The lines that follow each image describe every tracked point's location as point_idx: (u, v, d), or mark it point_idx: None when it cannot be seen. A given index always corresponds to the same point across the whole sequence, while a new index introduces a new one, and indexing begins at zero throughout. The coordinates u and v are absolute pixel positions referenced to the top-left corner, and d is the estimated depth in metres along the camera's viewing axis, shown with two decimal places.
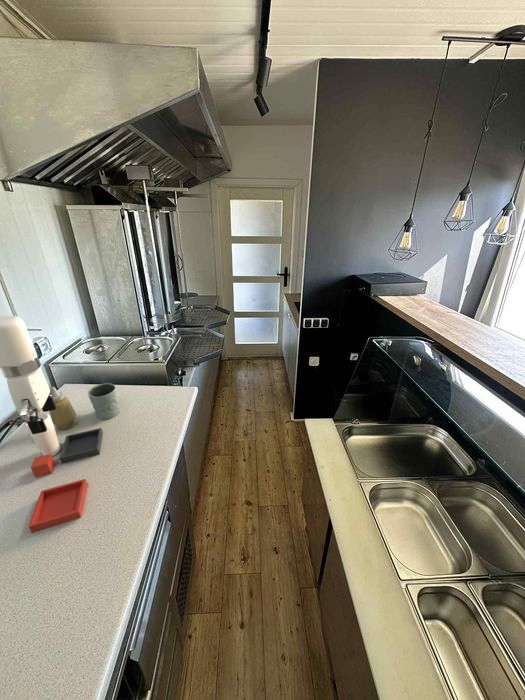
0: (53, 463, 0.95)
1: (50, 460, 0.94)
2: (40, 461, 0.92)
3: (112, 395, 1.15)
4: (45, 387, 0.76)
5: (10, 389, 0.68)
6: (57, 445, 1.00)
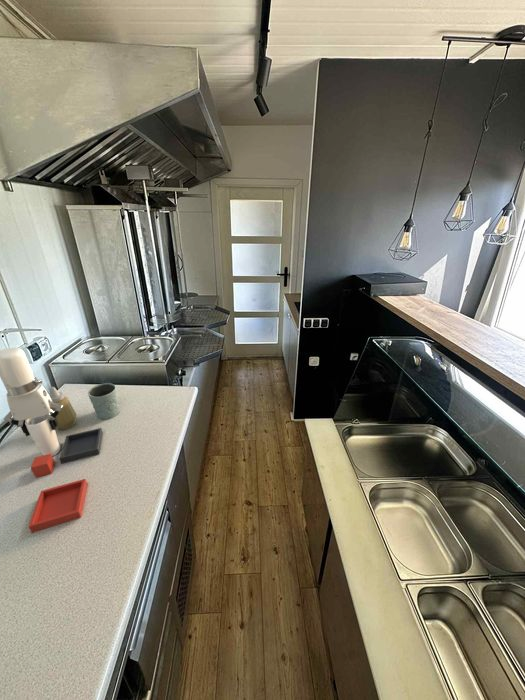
0: (53, 463, 0.95)
1: (50, 460, 0.94)
2: (40, 461, 0.92)
3: (112, 395, 1.15)
4: (35, 409, 0.91)
5: None
6: (57, 445, 1.00)
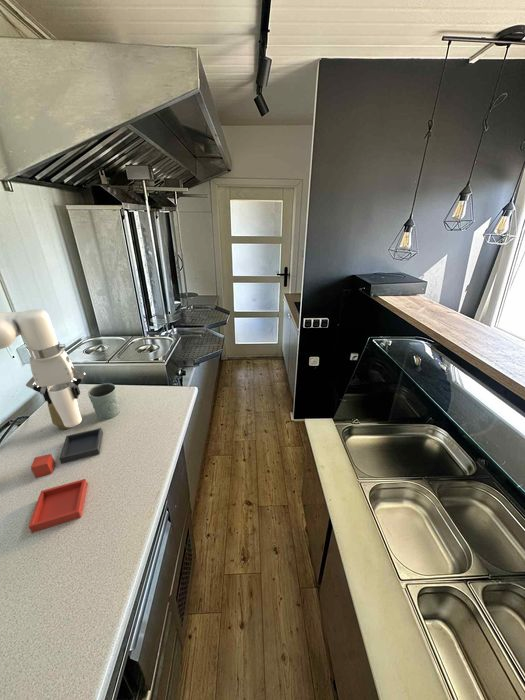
0: (53, 463, 0.95)
1: (50, 460, 0.94)
2: (40, 461, 0.92)
3: (112, 395, 1.15)
4: (58, 375, 0.88)
5: None
6: (79, 415, 0.97)
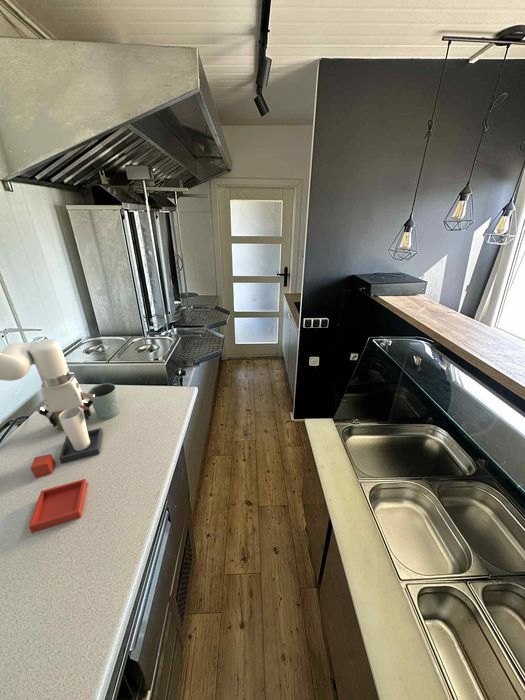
0: (53, 463, 0.95)
1: (50, 460, 0.94)
2: (40, 461, 0.92)
3: (112, 395, 1.15)
4: (68, 401, 0.92)
5: None
6: (88, 439, 1.02)
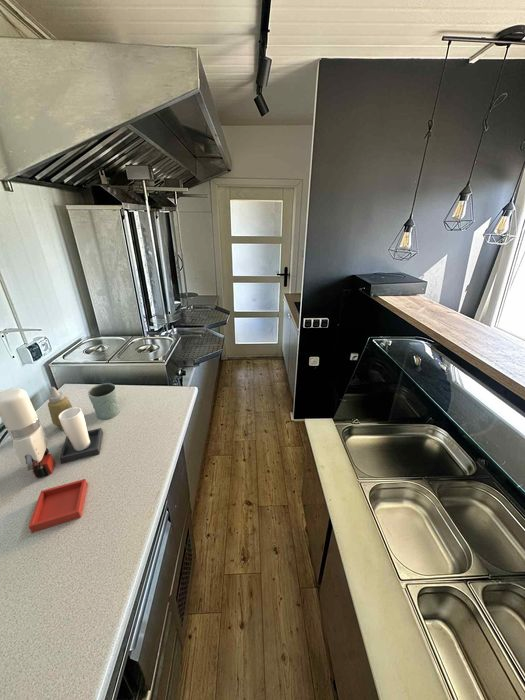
0: (53, 463, 0.95)
1: (50, 460, 0.94)
2: None
3: (112, 395, 1.15)
4: (44, 441, 0.92)
5: (15, 448, 0.83)
6: (88, 439, 1.02)
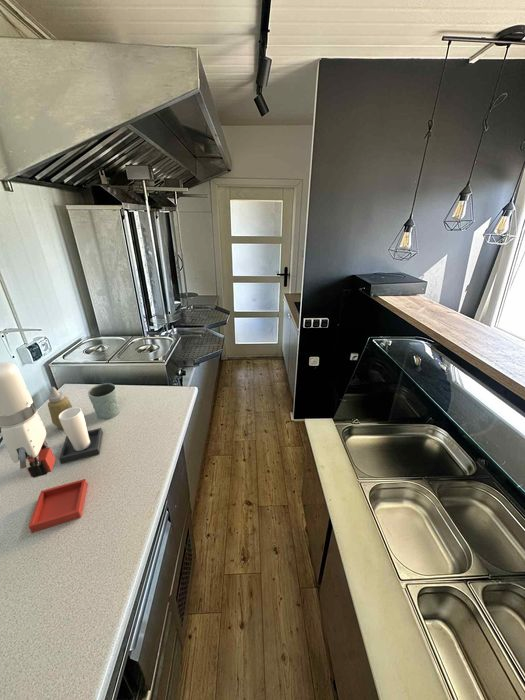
0: (53, 459, 0.77)
1: (50, 456, 0.76)
2: None
3: (112, 395, 1.15)
4: (41, 431, 0.74)
5: (4, 439, 0.65)
6: (88, 439, 1.02)
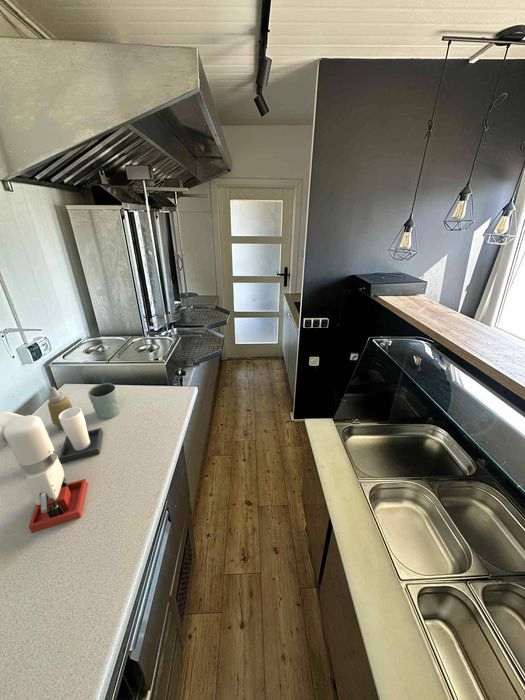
0: (70, 496, 0.84)
1: (67, 494, 0.82)
2: None
3: (112, 395, 1.15)
4: (60, 473, 0.80)
5: (29, 485, 0.71)
6: (88, 439, 1.02)
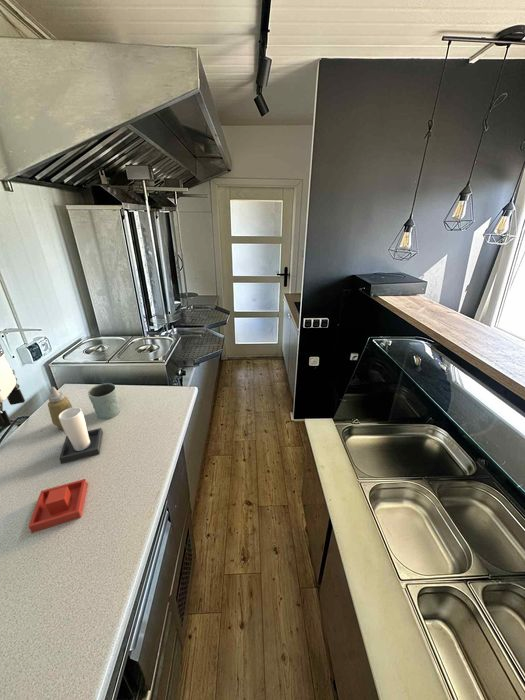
0: (70, 496, 0.84)
1: (67, 494, 0.82)
2: (56, 496, 0.80)
3: (112, 395, 1.15)
4: (10, 378, 0.71)
5: None
6: (88, 439, 1.02)
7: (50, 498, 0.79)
